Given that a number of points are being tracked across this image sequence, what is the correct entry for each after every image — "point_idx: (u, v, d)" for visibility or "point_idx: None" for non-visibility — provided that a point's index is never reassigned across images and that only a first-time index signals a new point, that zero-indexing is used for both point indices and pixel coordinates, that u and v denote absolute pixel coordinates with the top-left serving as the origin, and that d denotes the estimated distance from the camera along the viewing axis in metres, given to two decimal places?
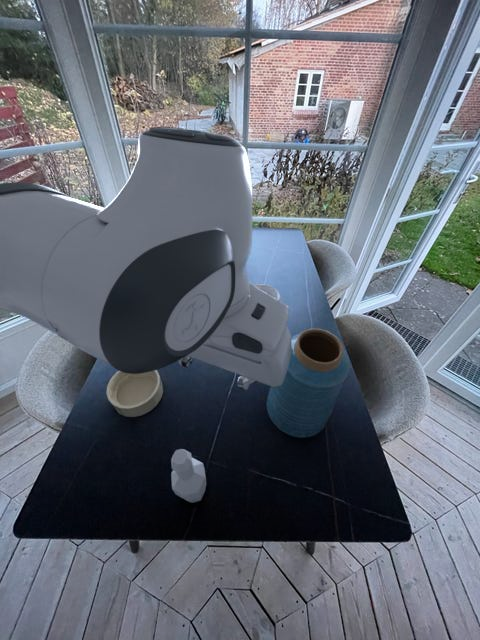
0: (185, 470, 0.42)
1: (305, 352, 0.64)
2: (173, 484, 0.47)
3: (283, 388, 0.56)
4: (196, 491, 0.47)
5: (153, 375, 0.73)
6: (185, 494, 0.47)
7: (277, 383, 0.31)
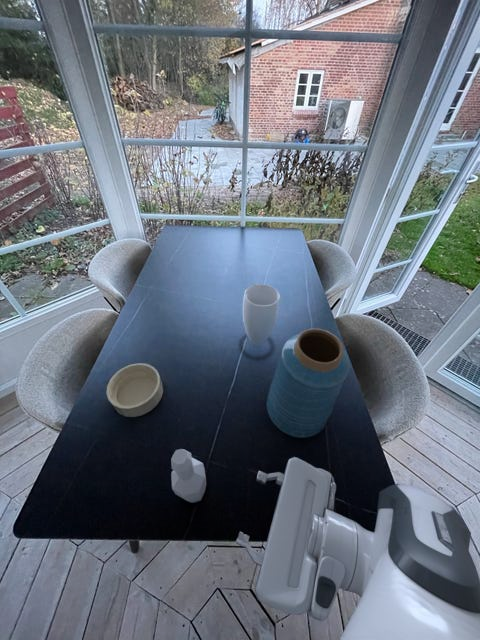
0: (185, 470, 0.42)
1: (305, 352, 0.64)
2: (173, 484, 0.47)
3: (283, 388, 0.56)
4: (196, 491, 0.47)
5: (153, 375, 0.73)
6: (185, 494, 0.47)
7: (267, 599, 0.36)
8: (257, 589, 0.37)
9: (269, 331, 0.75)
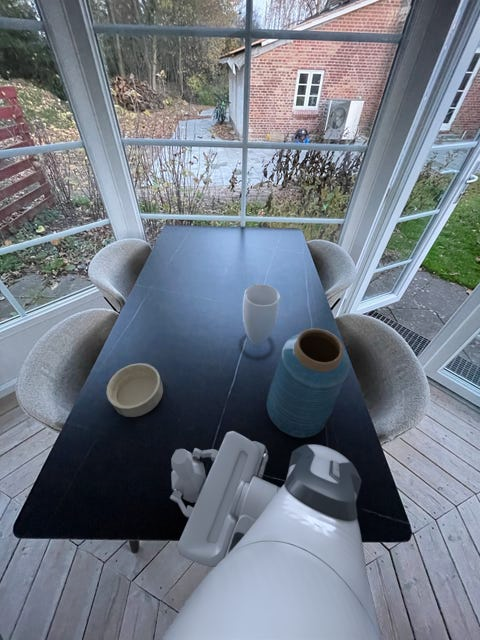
0: (185, 470, 0.42)
1: (305, 352, 0.64)
2: (173, 484, 0.47)
3: (283, 388, 0.56)
4: (196, 491, 0.47)
5: (153, 375, 0.73)
6: (185, 494, 0.47)
7: (185, 552, 0.40)
8: (178, 544, 0.40)
9: (269, 331, 0.75)
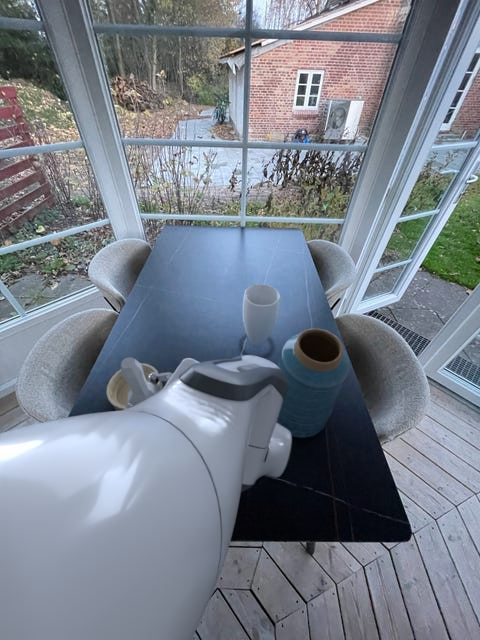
0: (133, 376, 0.45)
1: (305, 352, 0.64)
2: (128, 400, 0.50)
3: None
4: None
5: None
6: None
7: None
8: None
9: (269, 331, 0.75)
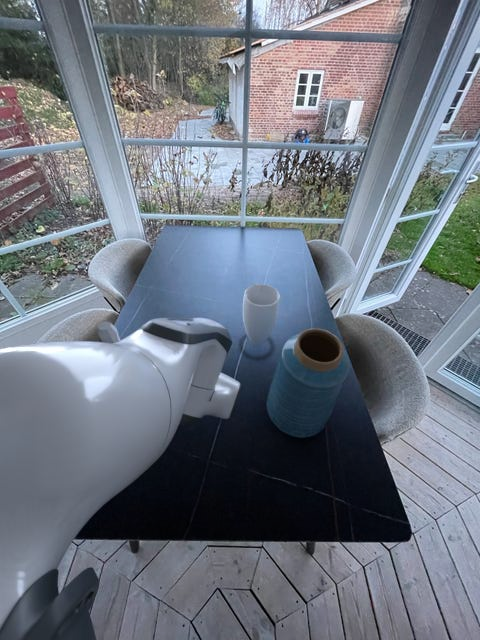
0: (109, 337, 0.53)
1: (305, 352, 0.64)
2: None
3: (283, 388, 0.56)
4: None
5: None
6: None
7: None
8: None
9: (269, 331, 0.75)
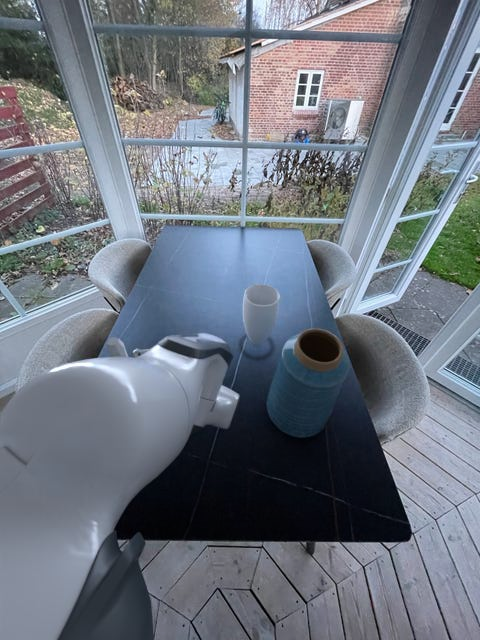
0: (117, 352, 0.57)
1: (305, 352, 0.64)
2: None
3: (283, 388, 0.56)
4: None
5: None
6: None
7: None
8: None
9: (269, 331, 0.75)
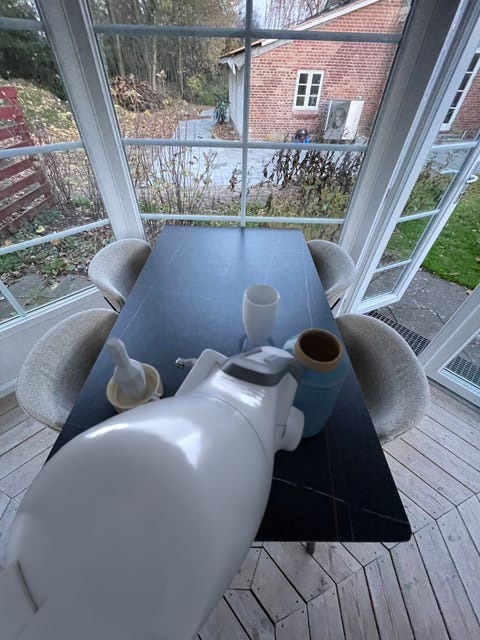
0: (117, 352, 0.57)
1: (305, 352, 0.64)
2: (114, 373, 0.62)
3: None
4: (131, 378, 0.62)
5: (153, 375, 0.73)
6: (123, 380, 0.62)
7: None
8: None
9: (269, 331, 0.75)
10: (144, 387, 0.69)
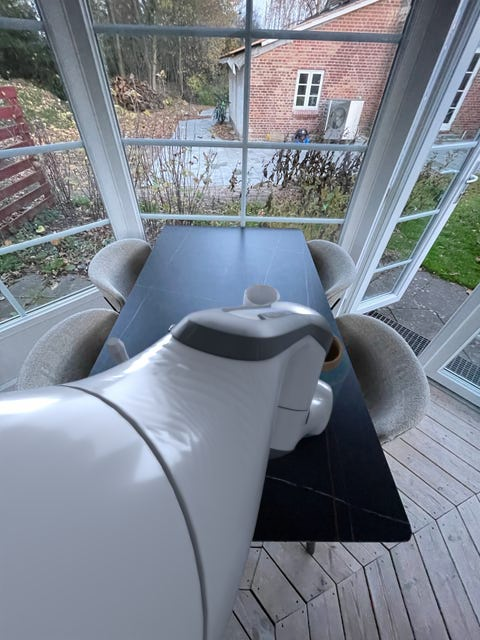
0: (117, 352, 0.57)
1: None
2: None
3: None
4: None
5: None
6: None
7: None
8: None
9: None
10: None
